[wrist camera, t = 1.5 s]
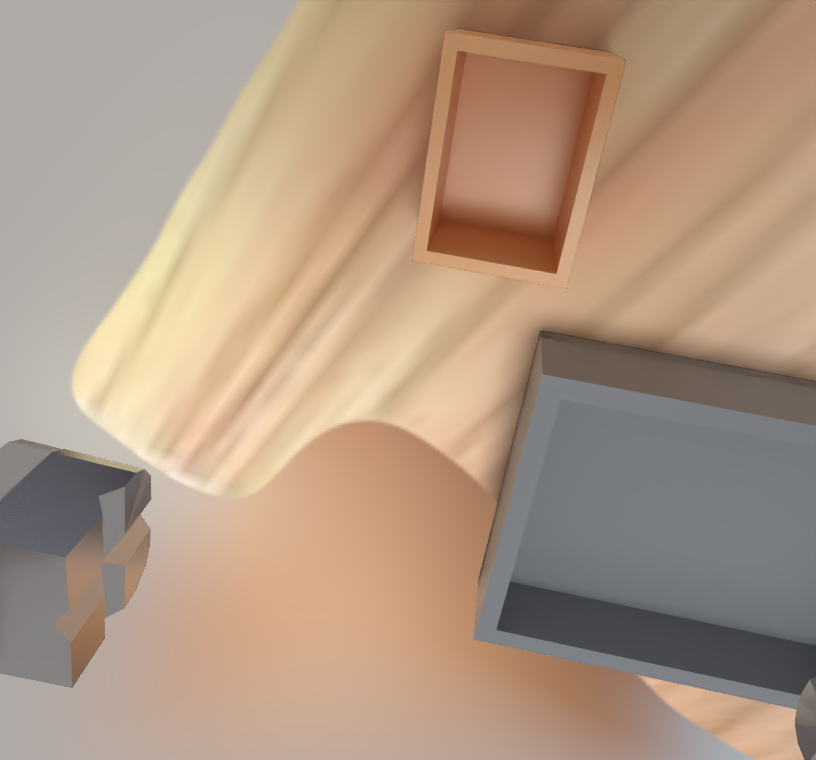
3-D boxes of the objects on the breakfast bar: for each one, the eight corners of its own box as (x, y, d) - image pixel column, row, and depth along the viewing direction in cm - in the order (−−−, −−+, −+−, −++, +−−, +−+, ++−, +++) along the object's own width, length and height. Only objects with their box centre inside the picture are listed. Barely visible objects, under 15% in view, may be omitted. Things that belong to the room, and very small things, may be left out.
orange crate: (610, 52, 27) (625, 59, 23) (561, 249, 31) (566, 288, 26) (457, 28, 27) (444, 31, 23) (428, 226, 31) (412, 260, 27)
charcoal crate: (980, 412, 31) (1045, 469, 27) (829, 651, 39) (863, 723, 35) (540, 330, 33) (542, 374, 29) (478, 578, 40) (473, 639, 36)
